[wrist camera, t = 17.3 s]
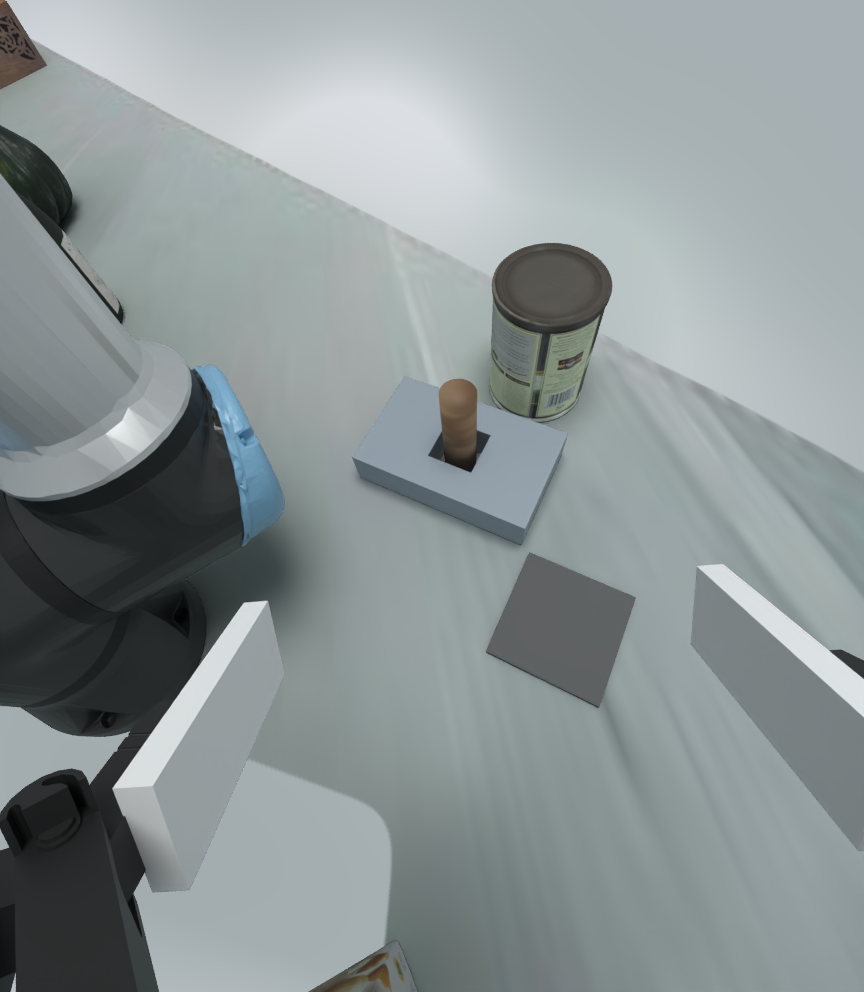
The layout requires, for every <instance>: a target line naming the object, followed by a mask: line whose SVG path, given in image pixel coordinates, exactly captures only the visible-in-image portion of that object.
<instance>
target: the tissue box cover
mask: <svg viewBox="0 0 864 992" xmlns="http://www.w3.org/2000/svg"><path fill="white" fill-rule="evenodd" d="M45 66H47V65H46V63H45V62H44V60H43V59H42V57H41V55H40V54H39V52H38V51H37V49H36V47H35V46H34V44H33V43H32V41H31V39H30V38H29V36H28V35H27V33H26V31H25V30H24V28H23V27H22V25H21V23H20V22H19V20H18V19H17V17H16V16H15V14H14V12H13V11H12V9H11V8H10V6H9V4H8V3H7V1H5V0H0V89H2V88H4V87H6V86H8V85H10V84H12V83H14V82H16V81H18V80H20V79H22V78H24V77H25V76H27V75H29V74H31V73H33V72H35V71H37V70H39V69H41V68H43V67H45Z"/></svg>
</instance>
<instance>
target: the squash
mask: <svg viewBox="0 0 864 992" xmlns="http://www.w3.org/2000/svg"><path fill="white" fill-rule="evenodd" d="M0 174H1V175H2V177H3V178H4V179H5V180H6V182H7V183H8V184H9V185H10V187H11V188H12V189H13V190H15V191H16V192H18V193H19V194H21V195H22V196H24V197H25V198H26V199H28V200H29V201H30V202H32V203H33V204H34V205H36V206H37V207H38V208H39V209H41V210H42V211H43V212H44V213H45V214H47V215H48V216H49V217H50V218H51V219H52V220H53V221H54V222H55V223H56V224H57V225H59V223H60V221H61V220H62V219H63V218H64V216H65V215H66V213H67V212H68V211H69V209H70V207H71V205H72V192H71V189H70V187H69V184H68V182H67V180H66V179H65V177H64V175H63V174H62V172H61V171H60V170H59V168H58V167H57V166H56V164H55V163H54V162H53V161H52V160H51V159H50V158H49V156H47V155H46V154H45V153H44V152H43V151H42V150H41V149H39V148H38V147H37V146H36V145H34V144H33V143H31V142H30V141H28V140H27V139H25V138H23V137H21V136H19V135H18V134H16V133H14V132H12V131H10V130H8V129H6V128H4V127H2V126H1V125H0Z"/></svg>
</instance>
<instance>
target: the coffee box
mask: <svg viewBox="0 0 864 992" xmlns="http://www.w3.org/2000/svg"><path fill="white" fill-rule="evenodd" d="M309 992H418V991H417V989H416V986H415V983H414V981H413V978H412V975H411V973H410V970H409V967H408V965H407V962H406V959H405V957H404V954H403V952H402V949H401V947H400V945H399V943H398V942H397V941H393V942H391V943H389V944H388V945H386V946H384V947H383V948H381V949H379V950H378V951H376V952H374V953H373V954H371V955H369V956H368V957H366V958H364V959H363V960H361V961H359V962H358V963H356V964H354V965H353V966H351V967H349V968H348V969H346V970H344V971H343V972H341V973H339V974H338V975H336V976H335V977H333V978H331V979H329V980H328V981H326V982H325V983H323V984H321V985H319V986H317V987H316V988H314V989H312V990H311V991H309Z"/></svg>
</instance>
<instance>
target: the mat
mask: <svg viewBox="0 0 864 992" xmlns="http://www.w3.org/2000/svg"><path fill="white" fill-rule="evenodd" d="M635 598H636V597H633V596H631V595H628V594H626V593H624V592H621V591H619V590H617V589H614V588H612V587H610V586H607V585H605V584H603V583H600V582H598V581H596V580H593V579H591V578H589V577H586V576H584V575H581V574H579V573H577V572H574V571H572V570H570V569H567V568H565V567H563V566H560V565H558V564H556V563H553V562H551V561H549V560H546V559H544V558H542V557H539V556H537V555H534V554H532V553H530V552H529V555H528V557H527V559H526V562H525V564H524V566H523V568H522V571H521V573H520V575H519V578H518V580H517V582H516V585H515V587H514V589H513V591H512V594H511V596H510V598H509V601H508V603H507V605H506V607H505V610H504V612H503V614H502V617H501V619H500V621H499V623H498V626H497V628H496V630H495V633H494V635H493V637H492V639H491V642H490V644H489V646H488V649H487V651H486V652H487V653H489V654H491V655H493V656H495V657H497V658H499V659H501V660H503V661H505V662H507V663H509V664H511V665H513V666H515V667H518V668H520V669H522V670H524V671H526V672H528V673H530V674H532V675H534V676H536V677H538V678H540V679H542V680H544V681H546V682H548V683H550V684H552V685H554V686H556V687H558V688H560V689H562V690H564V691H566V692H568V693H570V694H572V695H574V696H576V697H578V698H581V699H583V700H585V701H587V702H589V703H591V704H593V705H595V706H597V707H599V706H600V703H601V700H602V697H603V694H604V691H605V688H606V685H607V682H608V679H609V676H610V673H611V670H612V667H613V664H614V661H615V658H616V655H617V652H618V649H619V646H620V643H621V640H622V637H623V634H624V631H625V628H626V625H627V622H628V619H629V616H630V613H631V610H632V607H633V604H634V601H635Z"/></svg>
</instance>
